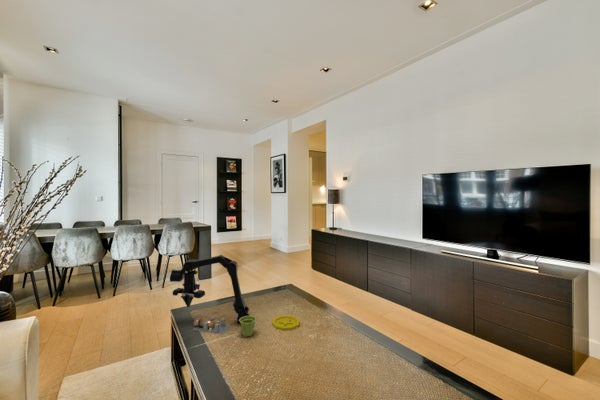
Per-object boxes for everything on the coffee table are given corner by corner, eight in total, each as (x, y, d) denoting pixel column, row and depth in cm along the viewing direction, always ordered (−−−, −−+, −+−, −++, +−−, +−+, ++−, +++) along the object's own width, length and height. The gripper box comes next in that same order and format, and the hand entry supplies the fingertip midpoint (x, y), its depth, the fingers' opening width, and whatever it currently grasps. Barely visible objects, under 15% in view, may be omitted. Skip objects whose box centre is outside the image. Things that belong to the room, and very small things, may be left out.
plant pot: (235, 335, 152) (235, 320, 151) (246, 328, 160) (246, 314, 160) (248, 340, 147) (248, 324, 147) (258, 332, 155) (259, 318, 155)
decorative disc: (300, 319, 175) (300, 316, 175) (297, 332, 158) (297, 329, 158) (275, 317, 177) (275, 314, 177) (269, 330, 159) (269, 327, 159)
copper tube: (215, 326, 159) (215, 319, 159) (211, 329, 155) (211, 323, 155) (197, 324, 162) (197, 317, 162) (193, 327, 158) (193, 320, 158)
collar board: (231, 328, 160) (231, 318, 160) (223, 336, 150) (223, 326, 150) (201, 323, 164) (201, 314, 164) (191, 331, 155) (192, 322, 155)
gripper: (210, 278, 166) (209, 303, 167) (184, 276, 170) (183, 300, 171) (199, 284, 156) (199, 310, 156) (172, 281, 160) (171, 307, 160)
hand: (188, 307), depth 161 cm, fingers closed
